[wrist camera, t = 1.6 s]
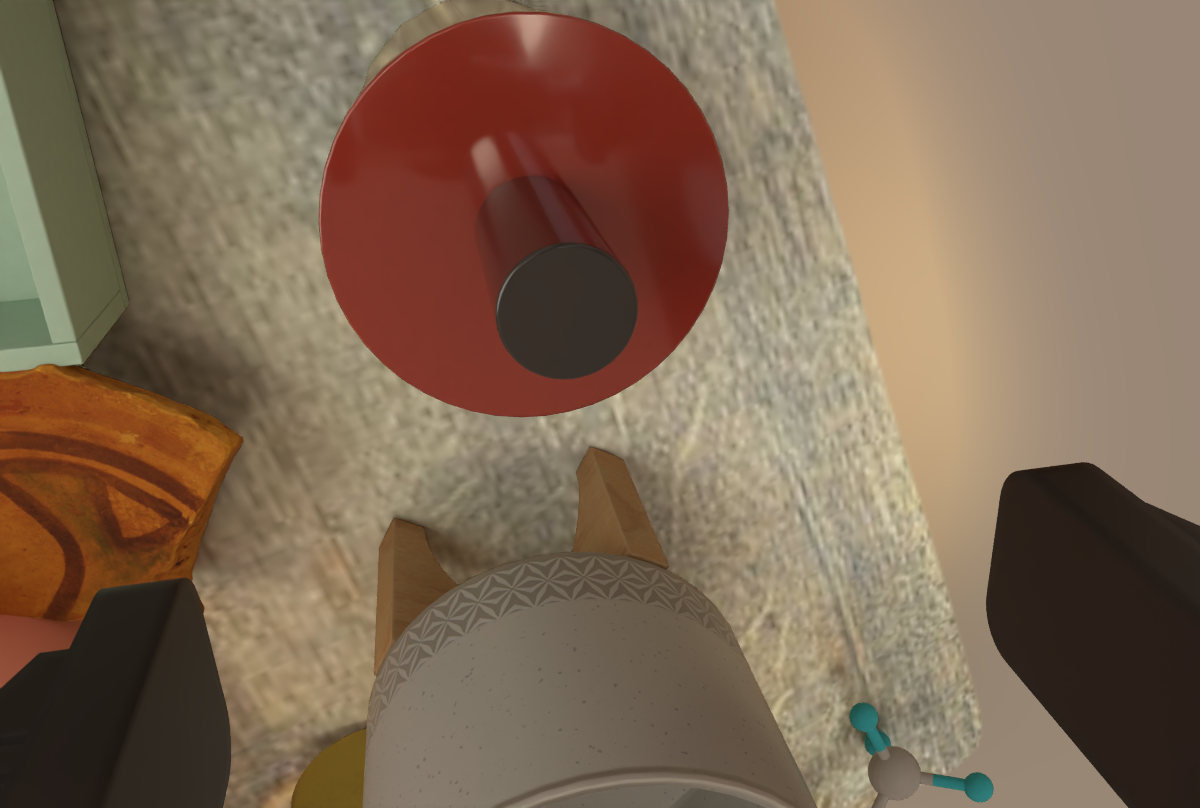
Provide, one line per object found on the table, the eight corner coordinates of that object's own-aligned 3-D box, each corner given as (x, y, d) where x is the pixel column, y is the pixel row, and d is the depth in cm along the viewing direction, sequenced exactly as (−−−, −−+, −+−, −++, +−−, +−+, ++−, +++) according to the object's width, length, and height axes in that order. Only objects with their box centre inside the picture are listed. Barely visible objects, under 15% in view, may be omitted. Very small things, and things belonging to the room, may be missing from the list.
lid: (289, 22, 20) (241, 52, 14) (715, -4, 22) (834, 13, 16) (354, 419, 24) (338, 574, 18) (715, 377, 25) (811, 510, 19)
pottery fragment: (-75, 635, 34) (-189, 469, 26) (-35, 515, 36) (-127, 332, 29) (244, 641, 36) (227, 489, 28) (260, 527, 39) (248, 361, 31)
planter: (454, 392, 38) (492, 716, 22) (743, 506, 42) (950, 847, 26) (323, 660, 42) (273, 1104, 26) (600, 740, 46) (705, 1164, 30)
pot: (342, 5, 32) (304, 39, 20) (598, -11, 33) (710, 13, 21) (378, 256, 36) (364, 417, 23) (609, 234, 37) (710, 376, 25)
